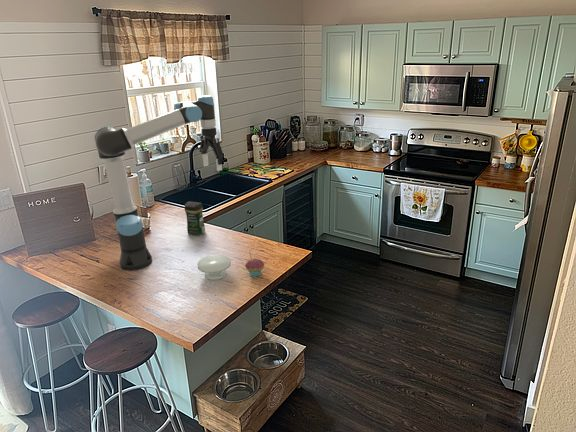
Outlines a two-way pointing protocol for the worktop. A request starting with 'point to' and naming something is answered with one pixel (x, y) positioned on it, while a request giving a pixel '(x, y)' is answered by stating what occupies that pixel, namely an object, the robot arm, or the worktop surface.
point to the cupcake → (254, 266)
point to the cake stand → (214, 266)
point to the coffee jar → (194, 218)
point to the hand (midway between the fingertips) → (212, 168)
